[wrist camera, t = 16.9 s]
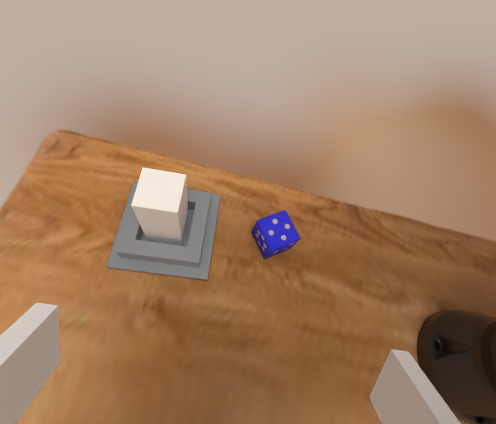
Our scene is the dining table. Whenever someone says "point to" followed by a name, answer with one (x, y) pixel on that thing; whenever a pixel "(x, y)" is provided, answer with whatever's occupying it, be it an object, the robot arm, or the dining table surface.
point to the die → (275, 234)
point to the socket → (167, 255)
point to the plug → (161, 206)
